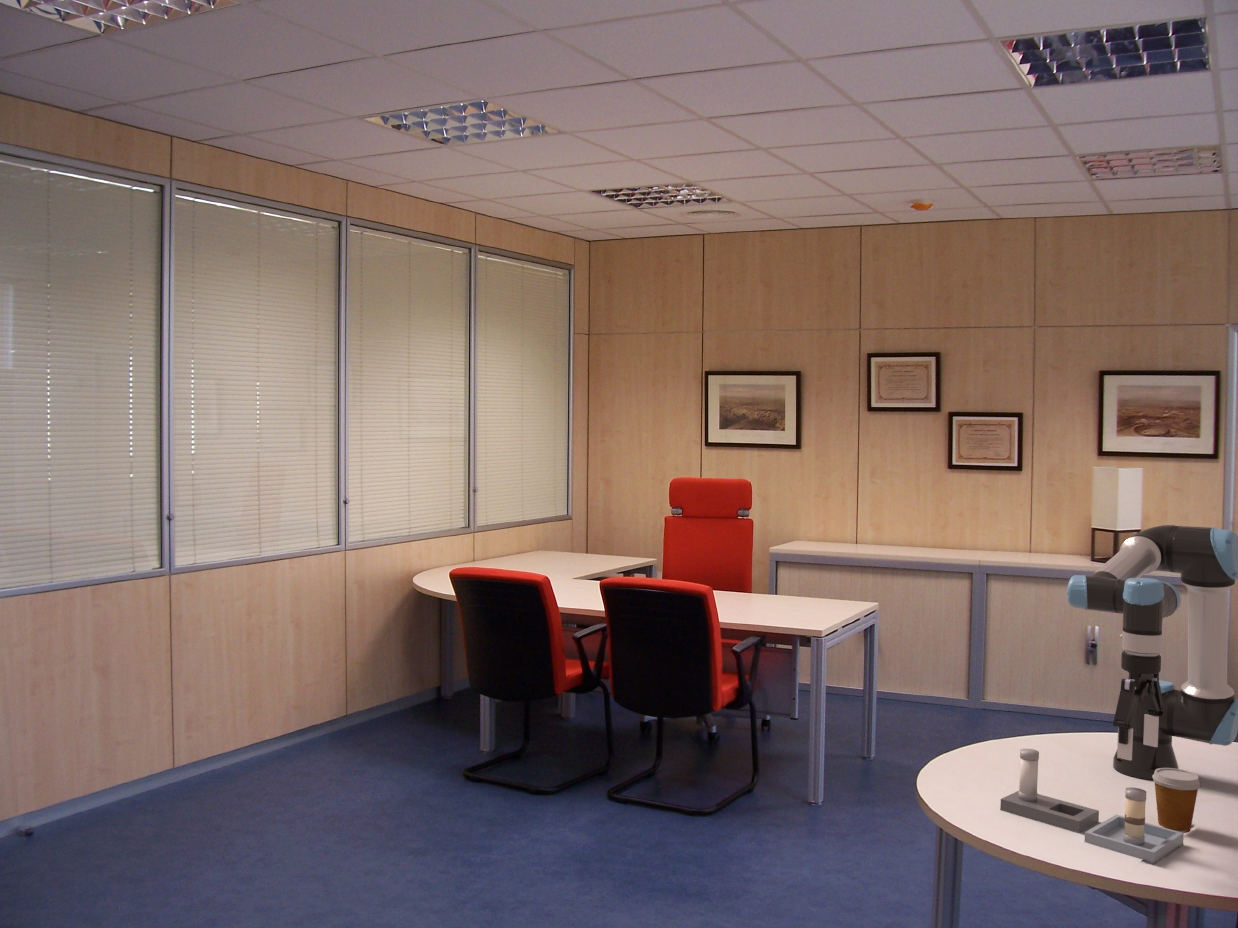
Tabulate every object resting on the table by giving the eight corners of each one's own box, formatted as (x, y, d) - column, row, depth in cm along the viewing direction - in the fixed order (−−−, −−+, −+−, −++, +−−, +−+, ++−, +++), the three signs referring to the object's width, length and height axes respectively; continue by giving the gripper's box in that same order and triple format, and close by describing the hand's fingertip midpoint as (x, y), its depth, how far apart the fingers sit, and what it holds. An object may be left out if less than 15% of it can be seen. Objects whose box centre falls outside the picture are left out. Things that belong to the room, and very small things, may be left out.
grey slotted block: (1021, 801, 253) (1023, 742, 252) (1098, 823, 240) (1100, 761, 239) (1000, 811, 246) (1002, 751, 245) (1078, 834, 233) (1080, 770, 232)
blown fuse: (1128, 836, 231) (1130, 785, 231) (1147, 842, 228) (1149, 790, 228) (1120, 841, 228) (1122, 789, 228) (1139, 846, 225) (1141, 795, 225)
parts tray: (1115, 825, 239) (1116, 814, 239) (1183, 844, 229) (1183, 832, 228) (1084, 843, 228) (1084, 832, 228) (1153, 864, 218) (1153, 852, 218)
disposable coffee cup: (1197, 838, 232) (1199, 783, 231) (1148, 829, 237) (1150, 775, 236) (1200, 825, 240) (1202, 772, 239) (1152, 816, 245) (1154, 764, 244)
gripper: (1146, 641, 238) (1142, 736, 239) (1097, 657, 221) (1094, 759, 222) (1182, 647, 232) (1178, 744, 233) (1135, 664, 215) (1131, 768, 216)
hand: (1137, 751), depth 228 cm, fingers open, 13 cm apart
